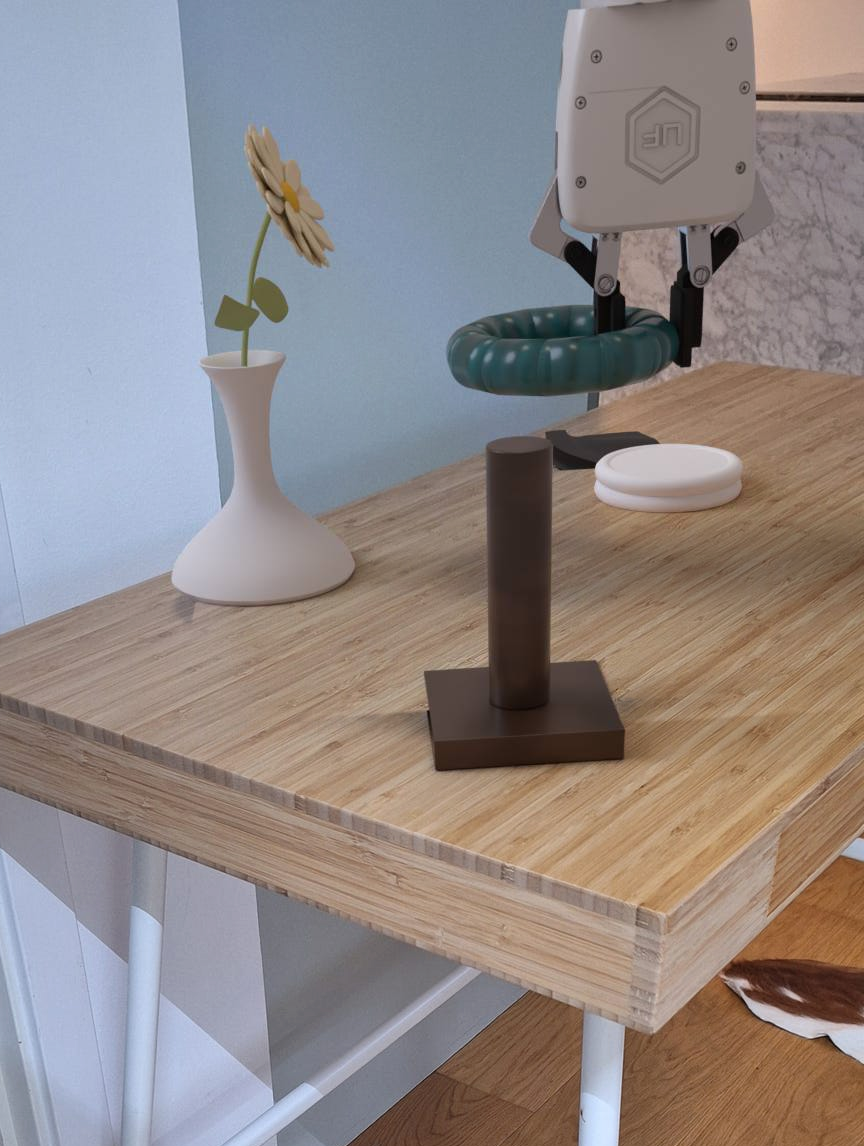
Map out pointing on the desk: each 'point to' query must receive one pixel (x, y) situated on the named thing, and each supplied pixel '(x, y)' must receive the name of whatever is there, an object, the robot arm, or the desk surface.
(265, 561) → the flower in vase
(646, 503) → the white grooved disc
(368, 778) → the desk surface
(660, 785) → the desk surface
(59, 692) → the desk surface
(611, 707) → the post
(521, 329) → the ring
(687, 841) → the desk surface
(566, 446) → the curved wedge
